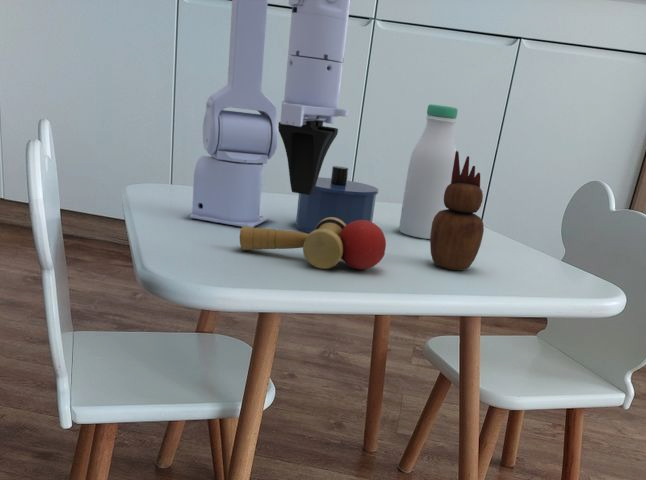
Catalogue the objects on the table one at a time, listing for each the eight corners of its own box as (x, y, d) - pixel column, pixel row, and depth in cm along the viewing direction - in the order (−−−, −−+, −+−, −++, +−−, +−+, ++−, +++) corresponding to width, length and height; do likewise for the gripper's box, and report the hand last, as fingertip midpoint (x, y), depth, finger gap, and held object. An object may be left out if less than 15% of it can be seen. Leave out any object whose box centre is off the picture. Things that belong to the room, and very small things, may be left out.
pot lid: (287, 189, 99) (290, 164, 97) (309, 181, 110) (311, 158, 109) (370, 203, 97) (373, 177, 96) (383, 193, 108) (386, 170, 107)
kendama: (233, 268, 82) (382, 271, 80) (232, 214, 81) (383, 216, 79) (251, 265, 90) (387, 268, 88) (250, 216, 89) (388, 218, 87)
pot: (287, 230, 101) (291, 185, 99) (307, 218, 111) (311, 178, 109) (362, 243, 99) (368, 198, 97) (375, 230, 110) (381, 189, 108)
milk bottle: (439, 242, 107) (463, 108, 100) (392, 233, 109) (412, 101, 102) (449, 235, 114) (472, 109, 107) (405, 227, 116) (424, 103, 109)
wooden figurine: (421, 266, 91) (440, 149, 85) (431, 258, 96) (450, 148, 90) (471, 276, 89) (494, 158, 83) (478, 268, 94) (501, 156, 89)
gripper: (338, 60, 63) (321, 207, 68) (366, 68, 76) (350, 191, 81) (265, 50, 64) (253, 196, 69) (305, 60, 77) (293, 182, 82)
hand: (302, 193), depth 75 cm, fingers closed
